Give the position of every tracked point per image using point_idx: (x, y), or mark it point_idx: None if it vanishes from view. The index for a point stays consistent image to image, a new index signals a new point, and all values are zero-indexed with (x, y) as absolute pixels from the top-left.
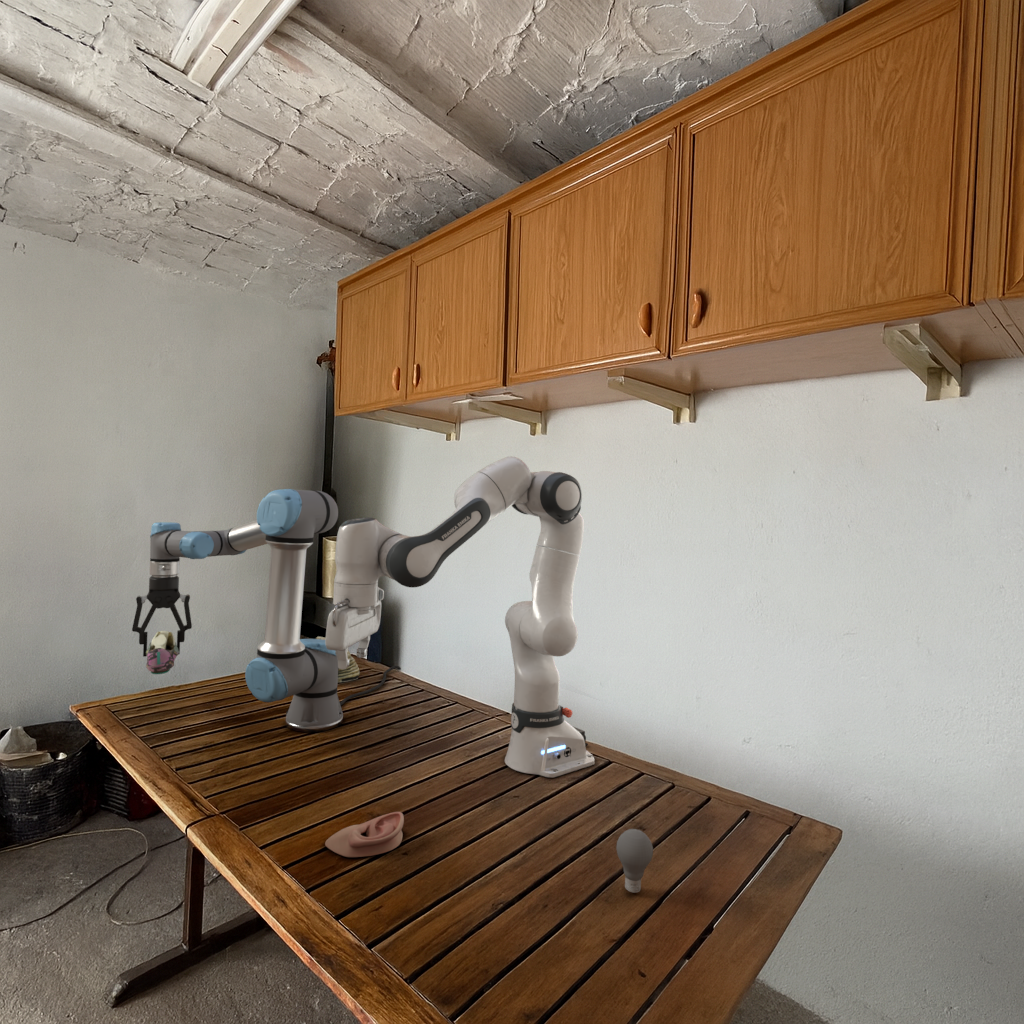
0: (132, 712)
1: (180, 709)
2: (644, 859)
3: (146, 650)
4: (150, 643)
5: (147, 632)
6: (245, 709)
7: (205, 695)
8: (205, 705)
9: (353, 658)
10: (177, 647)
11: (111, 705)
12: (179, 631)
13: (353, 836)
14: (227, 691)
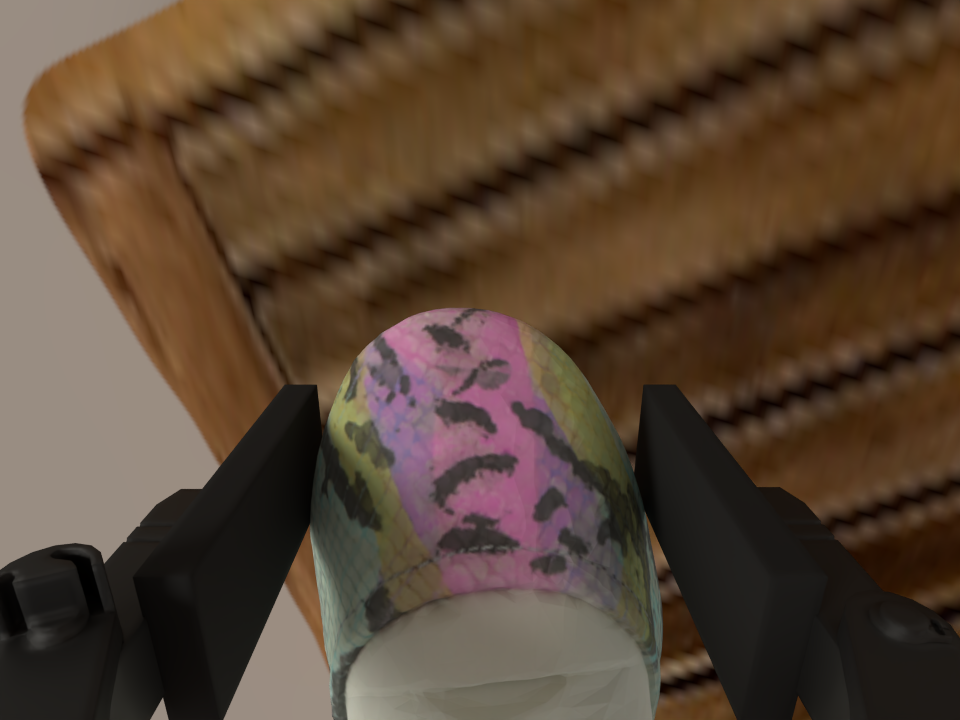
0: (346, 332)
1: (584, 360)
2: None
3: (307, 500)
4: (341, 707)
5: (197, 574)
6: (888, 463)
7: (751, 119)
8: (716, 333)
9: None
10: (659, 648)
11: (202, 154)
12: (787, 679)
13: None
14: (906, 65)
